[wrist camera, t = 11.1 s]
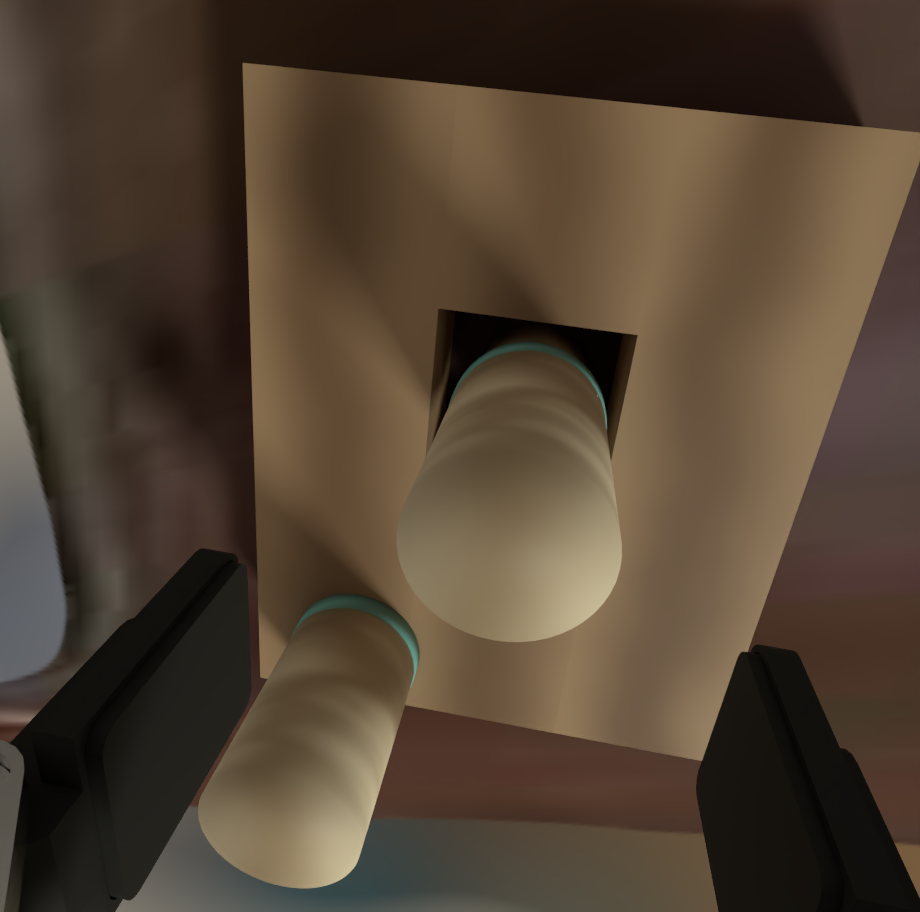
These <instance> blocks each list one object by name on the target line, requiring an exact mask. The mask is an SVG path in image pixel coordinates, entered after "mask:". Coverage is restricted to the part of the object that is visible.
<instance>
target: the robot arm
mask: <svg viewBox="0 0 920 912" xmlns="http://www.w3.org/2000/svg"><path fill="white" fill-rule="evenodd" d="M250 694H251V661H250V634H249V606H248V579H247V568H246V566H245V565H244V564H239V563H238V558H237V556H236V555H235V554H233V553H227V552H221V551H215V550H209V549H204V548H203V549H199V550H198V551H196V552H195V553H194V554H193V556H192V557H191V558H190V559H189V560H188V561H187V562H186V563H185V564H184V565H183V566H182V567H181V568H180V569H179V571H178V572H177V573H176V574H175V575H174V576H173V577H172V578H171V579H170V580H169V581H168V582H167V583H166V585H165V586H164V587H163V588H162V589H161V590H160V591H159V592H158V593H157V594H156V595H155V596H154V597H153V598H152V600H151V601H150V602H149V603H148V604H147V605H146V606H145V607H144V608H143V609H142V610H141V611H140V612H139V613H138V615H137V616H136V617H135V618H132V619H129V620H127V621H126V622H125V623H124V624H122V625H121V626H120V627H119V628H118V629H117V630H116V631H115V632H114V633H113V634H112V636H111V637H110V638H109V639H108V640H107V641H106V642H105V643H104V644H103V645H102V646H101V647H100V648H99V649H98V650H97V651H96V652H95V654H94V655H93V656H92V657H91V658H90V659H89V660H88V661H87V662H86V663H85V664H84V665H83V666H82V667H81V668H80V669H79V670H78V672H77V673H76V674H75V675H74V676H73V677H72V678H71V679H70V680H69V681H68V682H67V683H66V684H65V685H64V686H63V687H62V688H61V690H60V691H59V692H58V693H57V694H56V695H55V696H54V697H53V698H52V699H51V700H50V701H49V702H48V703H47V704H46V705H45V706H44V708H43V709H42V710H41V711H40V712H39V713H38V714H37V715H36V716H35V717H34V718H33V719H32V720H31V721H30V722H29V723H28V724H27V726H26V727H25V728H24V729H23V730H22V731H21V732H20V733H19V734H18V735H17V736H16V737H15V738H14V739H13V740H12V741H11V742H10V744H9V743H7V742H5V741H2V740H0V912H115V911H116V909H117V908H118V906H119V904H120V903H121V901H122V899H125V900H131V899H133V898H134V897H135V896H136V895H137V893H138V892H139V890H140V889H141V887H142V885H143V884H144V882H145V880H146V879H147V877H148V875H149V873H150V872H151V870H152V868H153V867H154V865H155V863H156V861H157V860H158V858H159V856H160V855H161V853H162V851H163V849H164V848H165V846H166V844H167V842H168V841H169V839H170V837H171V835H172V834H173V832H174V831H175V829H176V827H177V825H178V824H179V822H180V820H181V819H182V817H183V815H184V813H185V812H186V810H187V808H188V807H189V805H190V803H191V801H192V800H193V798H194V796H195V795H196V793H197V791H198V789H199V788H200V786H201V784H202V783H203V781H204V779H205V777H206V776H207V774H208V772H209V771H210V769H211V767H212V765H213V764H214V762H215V760H216V759H217V757H218V755H219V753H220V752H221V750H222V748H223V747H224V745H225V743H226V741H227V740H228V738H229V736H230V735H231V733H232V731H233V729H234V728H235V726H236V724H237V723H238V721H239V719H240V717H241V716H242V714H243V712H244V711H245V709H246V707H247V704H248V701H249V698H250ZM696 793H697V800H698V806H699V811H700V816H701V821H702V827H703V832H704V837H705V842H706V848H707V853H708V858H709V863H710V869H711V874H712V879H713V885H714V890H715V895H716V900H717V905H718V911H719V912H920V898H919V896H918V894H917V891H916V889H915V887H914V885H913V883H912V881H911V878H910V876H909V874H908V872H907V870H906V868H905V866H904V863H903V861H902V859H901V857H900V855H899V853H898V850H897V848H896V846H895V844H894V841H893V839H892V837H891V835H890V833H889V831H888V828H887V826H886V824H885V822H884V820H883V818H882V815H881V813H880V811H879V809H878V807H877V805H876V802H875V800H874V798H873V796H872V794H871V792H870V789H869V787H868V785H867V783H866V781H865V779H864V776H863V774H862V772H861V770H860V768H859V766H858V763H857V762H856V760H855V759H854V757H853V755H852V754H851V753H850V752H848V751H847V750H846V749H842V748H840V747H839V745H838V743H837V740H836V738H835V736H834V734H833V731H832V729H831V727H830V725H829V722H828V720H827V718H826V716H825V713H824V711H823V709H822V707H821V704H820V702H819V700H818V698H817V695H816V693H815V691H814V688H813V686H812V684H811V682H810V679H809V677H808V675H807V673H806V670H805V668H804V666H803V664H802V661H801V659H800V657H799V655H798V654H797V652H795V651H793V650H787V649H781V648H775V647H770V646H764V645H755V646H754V647H753V648H752V650H751V652H750V653H749V652H741V653H740V654H739V656H738V658H737V661H736V664H735V667H734V670H733V673H732V675H731V678H730V681H729V684H728V687H727V690H726V693H725V696H724V699H723V702H722V704H721V707H720V710H719V713H718V716H717V719H716V722H715V725H714V728H713V731H712V733H711V736H710V739H709V742H708V745H707V748H706V751H705V754H704V757H703V760H702V762H701V765H700V768H699V771H698V775H697V784H696Z"/></svg>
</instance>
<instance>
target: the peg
mask: <svg viewBox="0 0 920 912" xmlns="http://www.w3.org/2000/svg"><path fill="white" fill-rule="evenodd" d="M397 552H398V558H399V561H400V565H401V568H402V571H403V573H404V575H405V578H406V580H407V582H408V583H409V585H410V587H411V588H412V590H413V591H414V593H415V594H416V595H417V597H418V598H419V599H420V600H421V601H422V603H423V604H424V605H425V606H426V607H427V608H429V609H430V610H431V611H432V612H433V613H434V614H435V615H437V616H438V617H439V618H441V619H442V620H443V621H445V622H447V623H448V624H450V625H452V626H454V627H455V628H458V629H460V630H462V631H464V632H466V633H469V634H472V635H475V636H478V637H481V638H486V639H490V640H495V641H503V642H528V641H537V640H541V639H546V638H550V637H553V636H556V635H559V634H562V633H564V632H566V631H568V630H571V629H573V628H574V627H576V626H578V625H579V624H581V623H583V622H584V621H585V620H587V619H588V618H589V617H590V616H592V615H593V614H594V613H595V612H596V611H597V610H598V609H599V608H600V607H601V606H602V604H603V603H604V602H605V600H606V599H607V598H608V596H609V595H610V593H611V591H612V589H613V587H614V585H615V583H616V581H617V577H618V574H619V571H620V566H621V560H622V542H621V534H620V527H619V519H618V512H617V504H616V497H615V489H614V482H613V474H612V467H611V459H610V452H609V444H608V437H607V416H606V409H605V403H604V398H603V395H602V392H601V389H600V387H599V385H598V383H597V381H596V379H595V378H594V376H593V375H592V373H591V372H590V371H589V370H588V368H587V366H586V362H585V359H584V357H583V355H582V353H581V351H580V350H579V348H578V347H577V346H576V344H575V343H574V342H573V341H572V340H571V339H570V338H569V337H567V336H566V335H564V334H563V333H561V332H559V331H557V330H555V329H552V328H549V327H545V326H540V325H527V326H521V327H517V328H514V329H512V330H509V331H507V332H505V333H504V334H502V335H501V336H499V337H498V338H497V339H496V340H495V341H494V342H493V343H492V344H491V345H490V346H489V348H488V349H487V351H486V353H485V354H484V355H482V356H481V357H479V358H478V359H477V360H476V361H474V362H473V363H472V364H471V365H470V366H469V367H468V369H467V370H466V371H465V372H464V374H463V375H462V377H461V378H460V380H459V382H458V384H457V386H456V388H455V390H454V392H453V395H452V397H451V400H450V403H449V407H448V410H447V412H446V414H445V416H444V418H443V421H442V423H441V425H440V427H439V429H438V432H437V434H436V436H435V438H434V440H433V442H432V445H431V447H430V449H429V451H428V453H427V456H426V458H425V460H424V462H423V464H422V467H421V469H420V471H419V473H418V475H417V478H416V480H415V482H414V484H413V486H412V489H411V491H410V493H409V495H408V497H407V500H406V502H405V504H404V506H403V508H402V511H401V515H400V518H399V521H398V528H397Z"/></svg>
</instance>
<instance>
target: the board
mask: <svg viewBox="0 0 920 912" xmlns="http://www.w3.org/2000/svg"><path fill="white" fill-rule="evenodd" d="M243 96H244V130H245V164H246V198H247V233H248V267H249V301H250V335H251V369H252V404H253V438H254V472H255V506H256V541H257V575H258V609H259V643H260V677H261V678H266V679H268V680H267V681H266V683H265V685H264V687H263V688H262V690H261V692H260V694H259V695H258V697H257V699H256V701H255V702H254V704H253V706H252V708H251V709H250V711H249V713H248V715H247V716H246V718H245V720H244V722H243V723H242V725H241V727H240V729H239V730H238V732H237V734H236V736H235V737H234V739H233V741H232V742H231V744H230V746H229V748H228V749H227V751H226V753H225V755H224V756H223V758H222V760H221V762H220V763H219V765H218V767H217V769H216V770H215V772H214V774H213V776H212V777H211V779H210V781H209V783H208V784H207V786H206V788H205V790H204V791H203V793H202V795H201V798H200V800H199V805H198V817H199V822H200V825H201V828H202V830H203V832H204V834H205V836H206V838H207V840H208V841H209V842H210V844H211V845H212V846H213V847H214V849H215V850H216V851H217V852H218V853H219V854H220V855H221V856H222V857H223V858H224V859H225V860H227V861H228V862H229V863H231V864H232V865H233V866H235V867H236V868H238V869H239V870H241V871H243V872H245V873H247V874H248V875H250V876H253V877H255V878H257V879H260V880H263V881H265V882H268V883H271V884H276V885H279V886H285V887H291V888H314V887H321V886H326V885H329V884H332V883H335V882H337V881H339V880H341V879H342V878H344V877H345V876H346V875H348V874H349V872H351V871H352V869H353V868H354V867H355V865H356V863H357V861H358V859H359V856H360V853H361V850H362V846H363V843H364V840H365V836H366V833H367V829H368V826H369V823H370V820H371V816H372V813H373V810H374V806H375V803H376V800H377V796H378V793H379V790H380V786H381V783H382V780H383V776H384V773H385V770H386V766H387V763H388V760H389V756H390V753H391V750H392V746H393V743H394V740H395V736H396V733H397V730H398V726H399V723H400V720H401V716H402V713H403V710H404V706H405V705H409V706H414V707H420V708H425V709H430V710H435V711H441V712H446V713H451V714H457V715H462V716H467V717H472V718H478V719H483V720H488V721H494V722H499V723H504V724H509V725H515V726H520V727H525V728H531V729H536V730H541V731H546V732H552V733H557V734H562V735H568V736H573V737H578V738H583V739H589V740H594V741H599V742H605V743H610V744H615V745H621V746H626V747H631V748H636V749H642V750H647V751H652V752H658V753H663V754H668V755H673V756H679V757H684V758H689V759H695V760H700V761H702V760H703V757H704V754H705V751H706V748H707V745H708V742H709V739H710V736H711V733H712V731H713V728H714V725H715V722H716V719H717V716H718V713H719V710H720V707H721V704H722V702H723V699H724V696H725V693H726V690H727V687H728V684H729V681H730V678H731V675H732V673H733V670H734V667H735V664H736V661H737V658H738V656H739V654H740V653H741V652H748V649H749V646H750V643H751V640H752V638H753V635H754V632H755V629H756V626H757V623H758V620H759V618H760V615H761V612H762V609H763V606H764V603H765V601H766V598H767V595H768V592H769V589H770V586H771V583H772V581H773V578H774V575H775V572H776V569H777V566H778V563H779V561H780V558H781V555H782V552H783V549H784V546H785V544H786V541H787V538H788V535H789V532H790V529H791V526H792V524H793V521H794V518H795V515H796V512H797V509H798V506H799V504H800V501H801V498H802V495H803V492H804V489H805V487H806V484H807V481H808V478H809V475H810V472H811V469H812V467H813V464H814V461H815V458H816V455H817V452H818V449H819V447H820V444H821V441H822V438H823V435H824V432H825V430H826V427H827V424H828V421H829V418H830V415H831V412H832V410H833V407H834V404H835V401H836V398H837V395H838V392H839V390H840V387H841V384H842V381H843V378H844V375H845V373H846V370H847V367H848V364H849V361H850V358H851V355H852V353H853V350H854V347H855V344H856V341H857V338H858V335H859V333H860V330H861V327H862V324H863V321H864V318H865V316H866V313H867V310H868V307H869V304H870V301H871V298H872V296H873V293H874V290H875V287H876V284H877V281H878V278H879V276H880V273H881V270H882V267H883V264H884V261H885V259H886V256H887V253H888V250H889V247H890V244H891V241H892V239H893V236H894V233H895V230H896V227H897V224H898V221H899V219H900V216H901V213H902V210H903V207H904V204H905V202H906V199H907V196H908V193H909V190H910V187H911V184H912V182H913V179H914V176H915V173H916V170H917V167H918V164H919V162H920V133H917V132H907V131H898V130H888V129H878V128H869V127H859V126H849V125H840V124H830V123H820V122H811V121H801V120H791V119H782V118H772V117H762V116H753V115H743V114H733V113H724V112H714V111H704V110H695V109H685V108H675V107H665V106H656V105H646V104H636V103H627V102H617V101H607V100H598V99H588V98H578V97H569V96H559V95H549V94H540V93H530V92H520V91H511V90H501V89H491V88H482V87H472V86H462V85H453V84H443V83H433V82H424V81H414V80H404V79H395V78H385V77H375V76H366V75H356V74H346V73H337V72H327V71H317V70H308V69H298V68H288V67H279V66H269V65H259V64H250V63H243ZM455 311H462V312H469V313H476V314H484V315H491V316H499V317H506V318H514V319H521V320H529V321H536V322H544V323H551V324H558V325H566V326H573V327H581V328H588V329H596V330H603V331H611V332H618V333H623V334H622V339H621V344H620V349H619V354H618V359H617V363H616V368H615V373H614V378H613V383H612V388H611V393H610V398H609V403H608V408H607V413H606V416H607V437H608V444H609V452H610V459H611V467H612V474H613V482H614V489H615V497H616V504H617V512H618V519H619V527H620V534H621V542H622V560H621V566H620V571H619V574H618V577H617V581H616V583H615V585H614V587H613V589H612V591H611V593H610V595H609V596H608V598H607V599H606V600H605V602H604V603H603V604H602V606H601V607H600V608H599V609H598V610H597V611H596V612H595V613H594V614H593V615H592V616H590V617H589V618H588V619H587V620H585V621H584V622H583V623H581V624H579V625H578V626H576V627H574V628H573V629H571V630H568V631H566V632H564V633H562V634H559V635H556V636H553V637H550V638H546V639H541V640H537V641H528V642H503V641H495V640H490V639H486V638H481V637H478V636H475V635H472V634H469V633H466V632H464V631H462V630H460V629H458V628H455V627H454V626H452V625H450V624H448V623H447V622H445V621H443V620H442V619H441V618H439V617H438V616H437V615H435V614H434V613H433V612H432V611H431V610H430V609H429V608H427V607H426V606H425V605H424V604H423V603H422V601H421V600H420V599H419V598H418V597H417V595H416V594H415V593H414V591H413V590H412V588H411V587H410V585H409V583H408V582H407V580H406V578H405V575H404V573H403V571H402V568H401V565H400V561H399V558H398V552H397V528H398V521H399V518H400V515H401V511H402V508H403V506H404V504H405V502H406V500H407V497H408V495H409V493H410V491H411V489H412V486H413V484H414V482H415V480H416V478H417V475H418V473H419V471H420V469H421V467H422V464H423V462H424V460H425V458H426V456H427V453H428V451H429V449H430V447H431V445H432V442H433V440H434V438H435V436H436V434H437V432H438V429H439V427H440V425H441V423H442V421H443V418H444V416H445V413H446V403H447V393H448V382H449V372H450V362H451V352H452V341H453V331H454V321H455Z"/></svg>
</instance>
